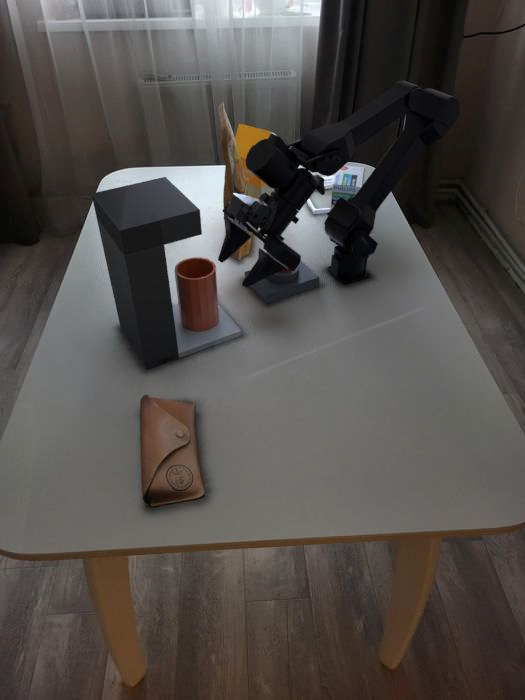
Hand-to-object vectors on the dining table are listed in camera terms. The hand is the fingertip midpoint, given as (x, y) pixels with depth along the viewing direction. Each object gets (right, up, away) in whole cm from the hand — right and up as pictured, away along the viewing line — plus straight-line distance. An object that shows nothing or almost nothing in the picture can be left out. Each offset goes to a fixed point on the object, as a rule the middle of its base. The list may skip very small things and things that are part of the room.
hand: (231, 273), depth 98 cm
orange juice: (+4, +20, +37) cm, 42 cm away
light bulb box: (+25, +18, +34) cm, 45 cm away
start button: (+9, +3, +11) cm, 15 cm away
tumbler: (-6, -8, +3) cm, 10 cm away
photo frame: (+23, +26, +43) cm, 55 cm away
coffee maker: (-9, -10, +2) cm, 14 cm away
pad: (+9, 0, +13) cm, 16 cm away
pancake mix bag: (0, +11, +26) cm, 28 cm away
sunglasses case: (-8, -28, -18) cm, 34 cm away
